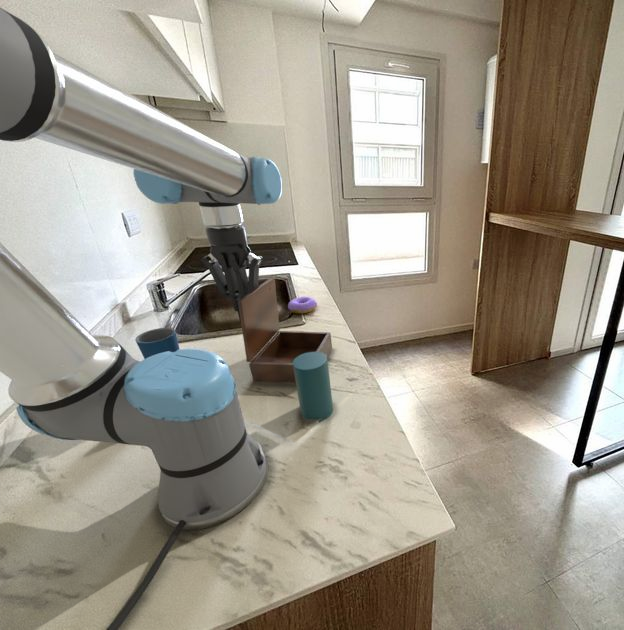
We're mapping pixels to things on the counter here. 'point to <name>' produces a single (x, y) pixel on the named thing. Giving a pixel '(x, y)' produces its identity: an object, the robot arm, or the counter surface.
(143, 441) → the robot arm
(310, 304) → the donut
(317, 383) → the can
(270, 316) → the lid
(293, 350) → the chest
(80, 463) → the counter surface
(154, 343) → the cup
